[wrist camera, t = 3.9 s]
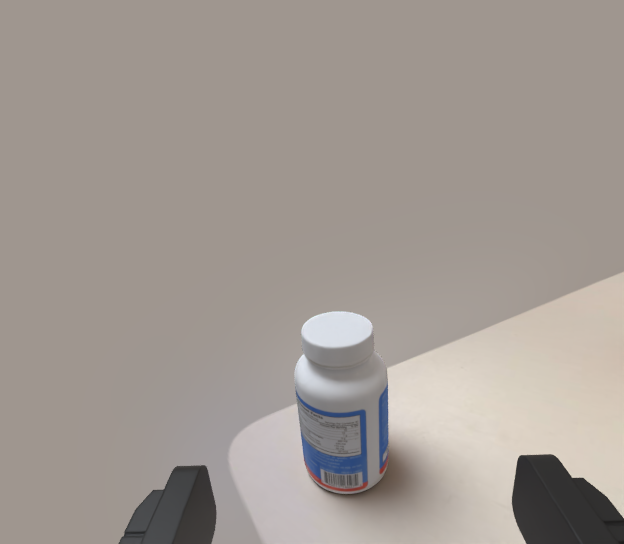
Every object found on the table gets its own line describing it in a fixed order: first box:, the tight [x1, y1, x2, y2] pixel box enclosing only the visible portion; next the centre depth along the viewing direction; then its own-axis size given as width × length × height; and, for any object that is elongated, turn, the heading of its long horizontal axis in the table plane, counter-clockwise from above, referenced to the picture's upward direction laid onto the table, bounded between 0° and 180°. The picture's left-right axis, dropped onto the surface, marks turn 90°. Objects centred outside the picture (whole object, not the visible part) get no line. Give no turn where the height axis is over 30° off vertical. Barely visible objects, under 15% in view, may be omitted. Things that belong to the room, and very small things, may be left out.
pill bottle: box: [294, 311, 389, 494], centre depth 23 cm, size 6×5×10 cm
